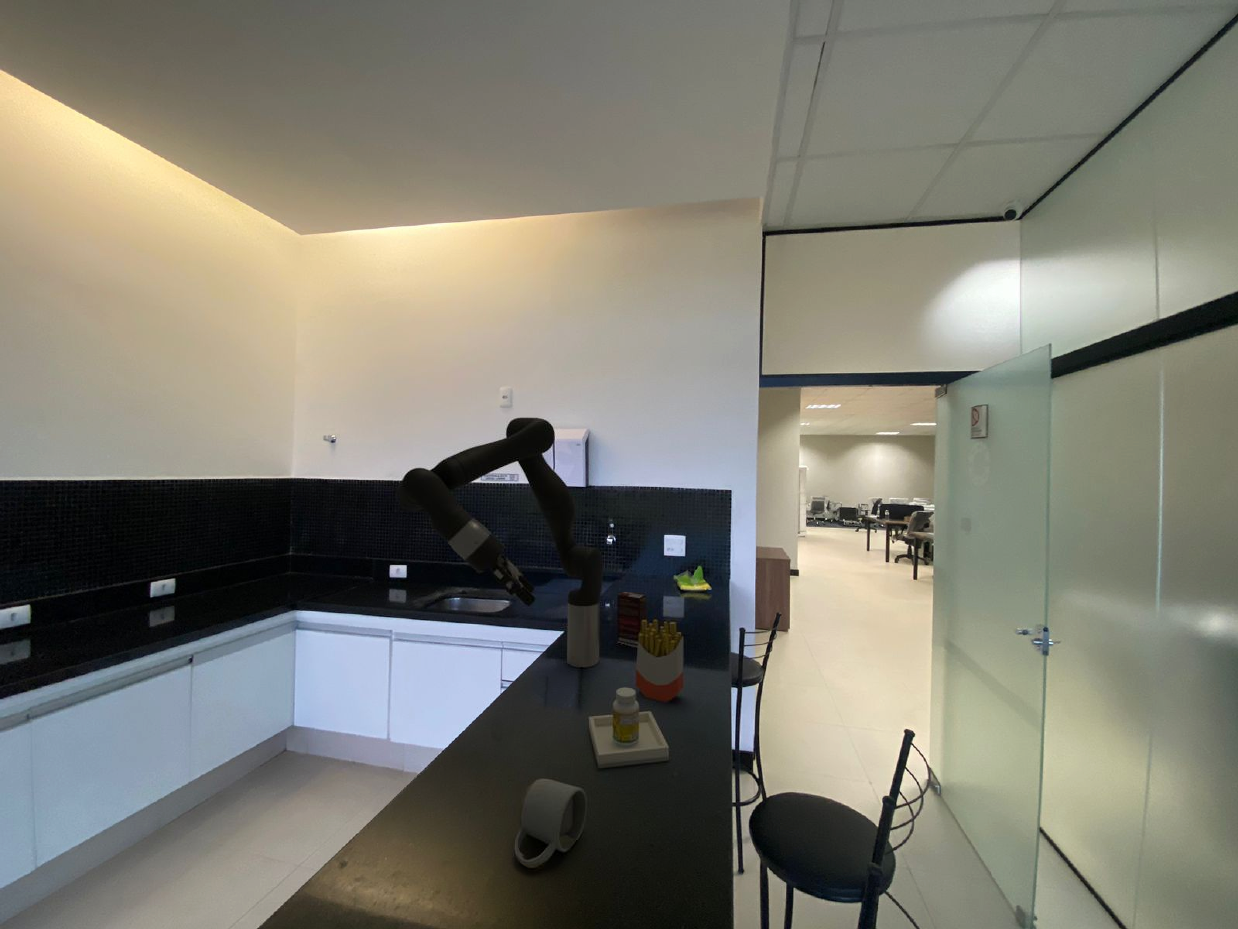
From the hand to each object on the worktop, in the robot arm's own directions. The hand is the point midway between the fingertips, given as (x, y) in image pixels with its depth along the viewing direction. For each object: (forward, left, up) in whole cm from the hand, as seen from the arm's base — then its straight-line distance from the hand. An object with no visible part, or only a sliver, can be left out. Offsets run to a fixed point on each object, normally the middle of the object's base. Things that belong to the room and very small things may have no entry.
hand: (531, 597), depth 99 cm
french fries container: (-10, +31, -28) cm, 43 cm away
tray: (+8, +19, -28) cm, 35 cm away
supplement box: (-45, +32, -28) cm, 62 cm away
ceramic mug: (+31, +3, -29) cm, 42 cm away
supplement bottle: (+8, +19, -28) cm, 35 cm away
